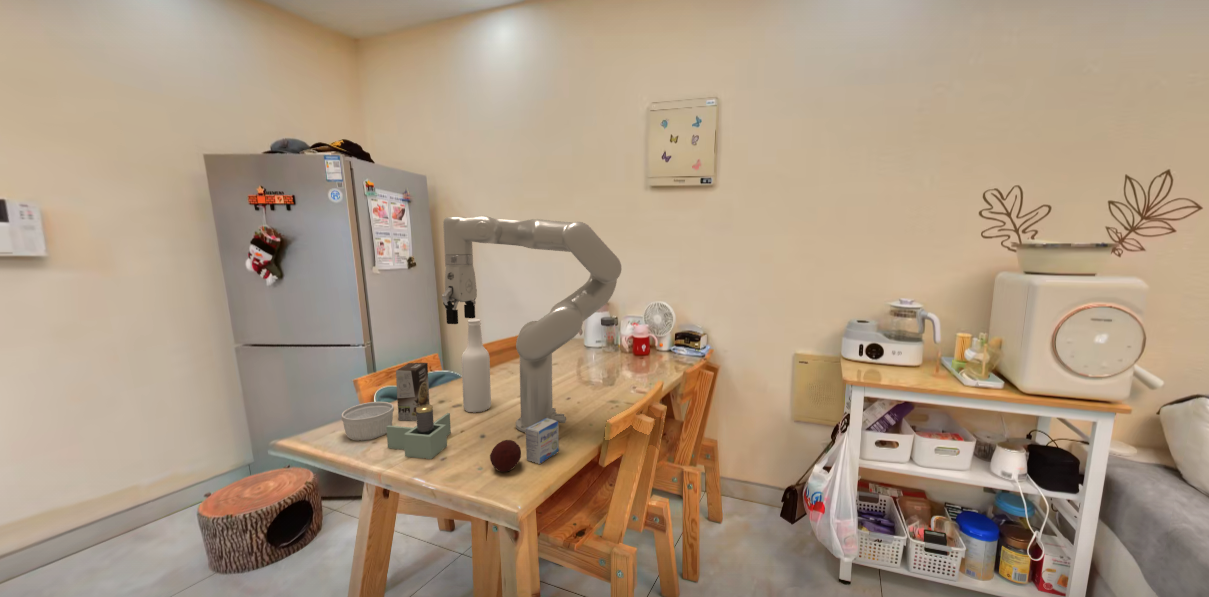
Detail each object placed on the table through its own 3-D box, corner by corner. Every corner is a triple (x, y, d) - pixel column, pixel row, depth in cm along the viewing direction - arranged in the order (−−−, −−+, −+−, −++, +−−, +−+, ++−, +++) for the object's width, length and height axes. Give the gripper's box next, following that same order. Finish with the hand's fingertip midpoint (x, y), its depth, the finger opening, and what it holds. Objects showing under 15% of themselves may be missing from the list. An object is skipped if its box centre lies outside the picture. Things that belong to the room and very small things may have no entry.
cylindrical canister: (437, 448, 114) (435, 405, 113) (429, 455, 110) (426, 410, 109) (424, 446, 115) (422, 404, 114) (415, 453, 111) (412, 409, 110)
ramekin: (366, 446, 116) (364, 421, 115) (331, 438, 120) (329, 415, 119) (405, 427, 128) (403, 404, 127) (371, 420, 132) (370, 399, 132)
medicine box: (539, 465, 106) (538, 431, 105) (525, 460, 108) (525, 427, 107) (559, 452, 112) (558, 420, 111) (546, 448, 115) (545, 417, 114)
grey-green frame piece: (461, 433, 123) (460, 413, 122) (431, 459, 108) (429, 436, 108) (414, 429, 126) (413, 410, 125) (379, 453, 111) (377, 431, 110)
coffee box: (418, 421, 132) (415, 370, 130) (397, 420, 132) (394, 370, 130) (430, 409, 141) (428, 362, 139) (411, 409, 141) (408, 362, 139)
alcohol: (481, 414, 137) (477, 322, 133) (458, 411, 140) (454, 321, 136) (496, 405, 145) (493, 318, 141) (474, 402, 148) (470, 316, 144)
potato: (522, 458, 109) (521, 431, 108) (520, 475, 101) (519, 447, 100) (492, 459, 108) (492, 433, 107) (488, 477, 100) (487, 449, 99)
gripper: (455, 262, 112) (457, 326, 114) (485, 260, 129) (487, 316, 131) (429, 262, 113) (432, 325, 115) (462, 260, 130) (464, 315, 132)
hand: (461, 320), depth 123 cm, fingers open, 9 cm apart
